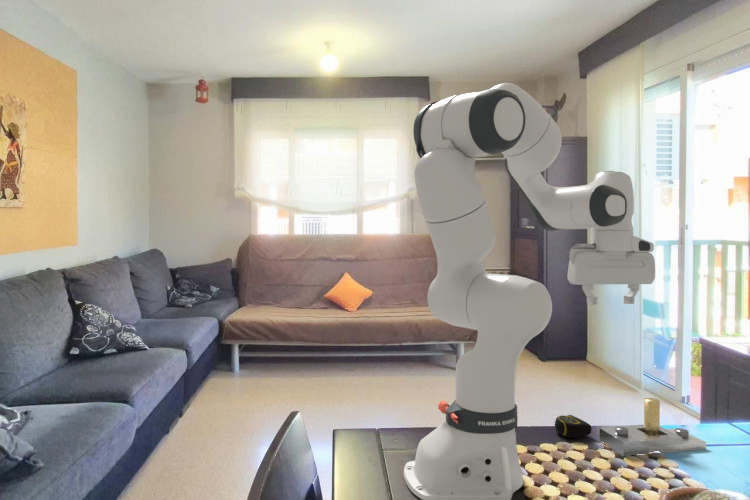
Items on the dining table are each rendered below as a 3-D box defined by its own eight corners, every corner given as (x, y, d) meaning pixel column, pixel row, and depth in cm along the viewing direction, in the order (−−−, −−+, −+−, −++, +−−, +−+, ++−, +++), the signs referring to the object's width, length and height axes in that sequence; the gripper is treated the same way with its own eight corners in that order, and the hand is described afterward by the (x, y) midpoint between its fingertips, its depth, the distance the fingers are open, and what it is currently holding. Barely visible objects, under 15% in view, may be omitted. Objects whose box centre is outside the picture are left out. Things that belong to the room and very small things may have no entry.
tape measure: (593, 439, 114) (593, 422, 114) (567, 442, 112) (568, 426, 112) (572, 428, 121) (572, 412, 121) (548, 431, 119) (548, 415, 119)
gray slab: (623, 456, 105) (623, 436, 105) (599, 441, 113) (599, 422, 113) (706, 449, 108) (706, 429, 108) (677, 434, 116) (677, 416, 116)
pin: (650, 448, 109) (650, 402, 109) (640, 442, 112) (641, 398, 111) (662, 447, 109) (663, 401, 109) (652, 441, 112) (653, 397, 112)
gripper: (578, 243, 110) (577, 306, 110) (660, 244, 114) (659, 305, 114) (562, 243, 116) (561, 303, 116) (641, 243, 120) (639, 301, 120)
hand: (610, 304), depth 115 cm, fingers open, 8 cm apart
